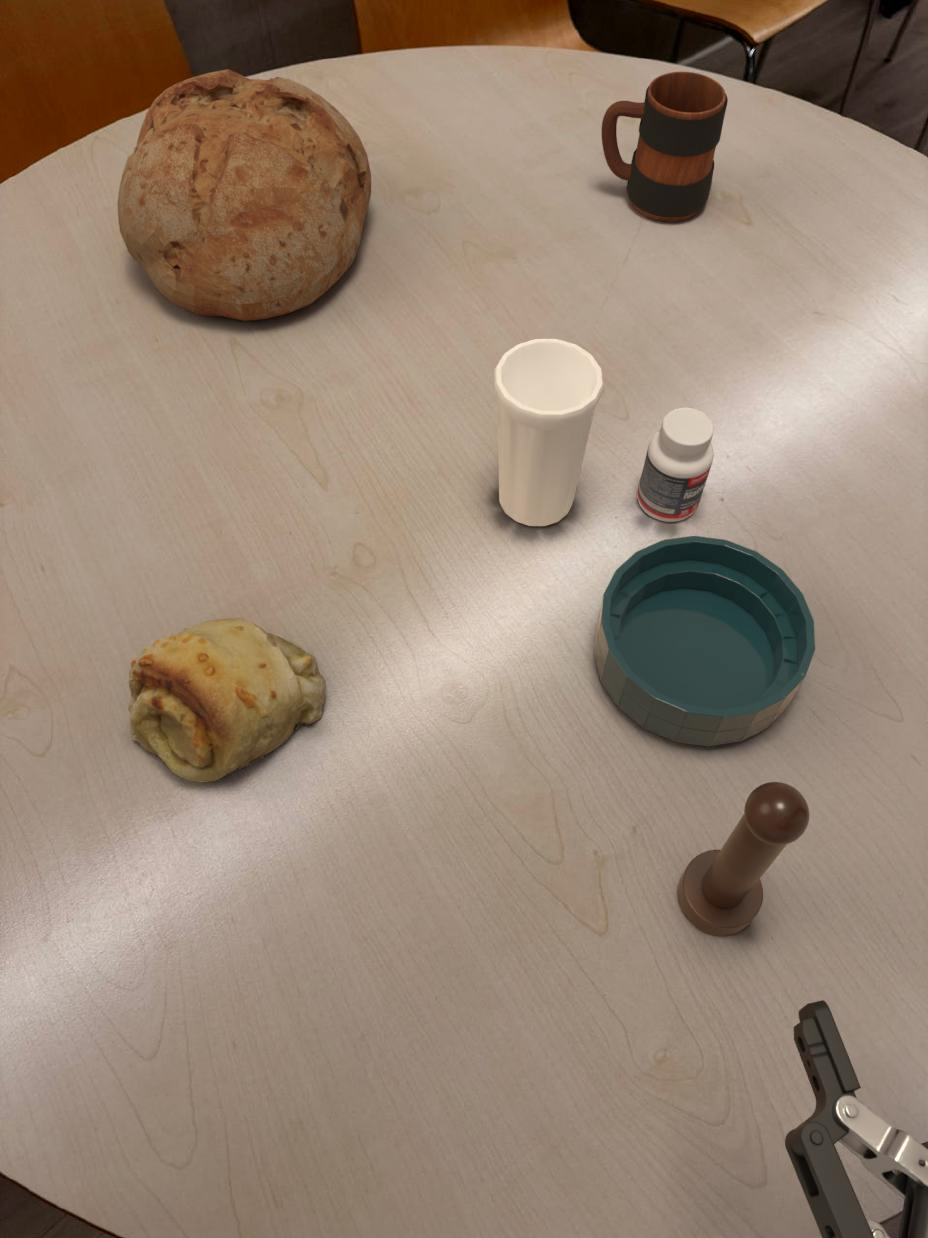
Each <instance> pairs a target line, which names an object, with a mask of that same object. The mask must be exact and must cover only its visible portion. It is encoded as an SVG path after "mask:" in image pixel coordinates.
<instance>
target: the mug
mask: <svg viewBox="0 0 928 1238" xmlns="http://www.w3.org/2000/svg"><path fill="white" fill-rule="evenodd" d="M728 100H729V99H728V95H727V93H726V91H725V89H724V87H723V86H722V85H721V84H720V82H718V81H716V80H715V79H713V78H712V77H709V76H707V75H705V74H702V73H697V72H691V71H672V72H667V73H664V74H661V75H659V76H657V77H655V78H654V79H653V80H652V81H651V82H650V83H649V85H648V86H647V87H646V90H645V96H644V102H636V101H631V100H618V101H615V102H614V103H612V104H611V105H610V106H609V107H608V108H606V111H605V113H604V115H603V117H602V122H601V145H602V150H603V156H604V159H605V161H606V164H607V166H608V169H609V170H610V171H611V173H612V174H613V175H615V176H616V177H617V178H619V179H621V180H623V181H626V182H627V184H626V194H627V197H628V199H629V202H630V203H631V205H632V206H633V208H634V209H635V211H637V212H638V213H640V214H641V215H643V216H644V217H647V218H649V219H651V220H655V221H657V222H658V221H659V222H665V223H667V222H668V223H669V222H670V223H672V222H673V223H675V222H681V221H684V220H685V221H686V220H687V219H690V218H692V217H694V216H695V215H696V214H698V213H699V211H701V210H702V209H703V208H704V207H705V206H706V204H707V203H708V200H709V196H710V193H711V189H712V183H713V177H714V170H715V159H714V158H715V153H716V148H717V146H718V145H719V143H720V140H721V136H722V132H723V131H722V130H723V125H724V120H725V117H726V116H725V115H726V112H727V107H728ZM619 117H626V118H631V119H640V121H639V126H638V134H639V135H638V139H637V145H636V148H635V150H634V151H633V154H632V158H631V163H626V162H625V161H624V160H623V158H622V156H621V153H620V149H619V145H618V136H617V125H618V119H619Z"/></svg>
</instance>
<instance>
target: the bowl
mask: <svg viewBox="0 0 928 1238" xmlns="http://www.w3.org/2000/svg"><path fill="white" fill-rule="evenodd" d="M814 621H815V620H814V617H813V615H812V613H811V610H810V608H809V606H808V603H807V600H806V598H805V596H804V594H803V593H802V591H801V590H800V588H799V587H798V586H797V585H796V584H795V582H793V581H792V579H791V578H790V577H789V576H788V574H787V573H786V572H785V570H784V569H782V568H781V567H780V566H778V565H777V564H775V563H774V562H772V561H771V560H770V559H768V558H767V557H765V556H764V555H763V554H761V553H760V552H758V551H756V550H754V549H751V548H748V547H746V546H744V545H741V544H738V543H736V542H733V541H731V540H728V539H723V538H714V537H709V536H708V537H707V536H698V535H690V536H682V537H675V538H666V539H663V540H660V541H658V542H656V543H653V544H651V545H648V546H646V547H644V548H641V549H639V550H637V551H635V552H634V553H633V554H632V555H631V556H630V557H628V559H626V560H625V561H624V562H623V563H622V564H621V565H620V566H619V567H617V569H615V570H614V573H613V575H612V577H611V579H610V581H609V583H608V585H607V586H606V589H605V590H604V593H603V595H602V598H601V603H600V608H599V613H598V618H597V622H596V627H595V633H594V635H595V637H594V646H593V658H594V661H595V665H596V669H597V672H598V677H599V680H600V682H601V684H602V685H603V687H604V688H605V690H606V692H607V693H608V694H609V696H610V698H611V699H612V701H613V702H614V704H615V705H616V707H617V708H619V709H620V710H621V711H622V712H623V713H625V714H626V715H627V716H628V717H629V718H630V719H632V720H633V721H634V722H636V723H637V725H639V726H641V728H644V730H647V731H649V732H651V733H653V734H656V735H658V736H660V737H663V738H664V739H665V738H666V739H667V740H670V741H672V742H675V743H680V744H687V745H696V746H702V747H713V746H717V745H726V744H731V743H732V744H733V743H740V742H742V741H744V740H746V739H748V738H751V737H752V736H754V735H756V734H758V733H760V732H763V731H765V730H766V729H768V728H770V726H772V724H773V723H774V722H775V721H776V720H777V719H778V718H779V716H780V715H781V714H782V713H783V712H784V711H785V710H786V709H787V708H788V706H789V705H790V703H791V701H792V699H793V698H794V696H795V694H796V693H797V691H798V690H799V688H800V686H801V685H802V683H803V681H804V680H805V678H806V676H807V673H808V670H809V668H810V665H811V663H812V660H813V657H814V654H815V652H816V639H815V622H814Z"/></svg>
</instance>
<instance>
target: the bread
mask: <svg viewBox="0 0 928 1238" xmlns="http://www.w3.org/2000/svg"><path fill="white" fill-rule="evenodd" d="M122 171H123V172H122V174H121V178H120V184H119V188H118V190H119V191H118V195H117V220H118V227H119V232H120V236H121V237H122V241H123V242H124V245H125V247H126V249H127V252H128V253H129V254H130V256H131V258H133V260H134V261H135V262H136V263H137V264H138V265H139V266H140V267H141V268H142V270H143V271H144V272H145V273H146V275H147V276H148V278H149V280H150V281H151V282H152V283H153V285H154V287H155V288H156V289H157V291H158V292H159V293H161V294H162V295H163V296H164V297H166V298H167V299H168V300H169V301H171V302H172V303H173V304H175V305H176V306H179V307H180V308H183V309H185V310H188V311H190V312H192V313H194V314H196V315H198V316H206V317H207V316H209V317H225V318H230V319H234V320H238V321H243V322H249V321H258V320H266V319H271V318H275V317H279V316H282V315H287V314H290V313H292V312H295V311H298V310H300V309H303V308H305V307H307V306H310V305H311V304H312V303H314V302H315V301H316V300H317V299H319V298H320V297H322V295H324V294H326V292H327V291H328V290H330V288H332V287H333V286H334V285H335V284H336V283H337V282H338V281H339V280H340V278H341V277H342V276H343V275H344V274H345V273H346V271H347V270H348V269H349V268H350V267H351V266H352V265H353V262H354V260H355V258H356V256H357V254H358V251H359V249H360V247H361V246H360V245H361V239H362V234H363V228H364V222H365V218H366V215H367V212H368V209H369V205H370V202H371V201H370V200H371V197H372V172H371V167H370V161H369V157H368V154H367V151H366V149H365V147H364V144H363V142H362V140H361V138H360V135H359V134H358V132H357V131H356V129H355V128H354V127H353V126H352V124H351V123H350V122H349V121H348V119H347V118H346V117H345V116H344V115H343V114H342V113H341V112H340V111H339V110H338V109H337V108H336V107H335V106H334V105H333V104H331V103H330V102H329V101H328V100H326V99H325V98H324V97H323V96H322V95H321V94H319V93H317V92H315V91H313V89H310V88H309V87H307V86H306V85H303V84H301V83H299V82H296V81H295V80H292V79H290V78H286V77H280V76H275V77H270V78H269V79H259V78H257V79H256V78H248V77H247V76H244V75H242V74H240V73H238V72H236V71H234V70H231V69H227V68H226V69H221V70H216V71H210V72H207V73H203V74H199V75H197V76H193V77H191V78H187V79H185V80H182V81H179V82H176V83H175V84H173V85H171V86H170V87H167V88H166V89H165V90H164V91H163V92H161V93H160V94H159V95H158V96H157V97H156V98H155V99H154V100H153V102H152V103H151V105H150V106H149V108H148V110H147V112H146V114H145V117H144V119H143V121H142V124H141V127H140V130H139V134H138V137H137V141H136V146H135V147H134V148H133V152H132V153H131V154H130V155H129V156H127V159H126V161H125V165H124V168H123V170H122Z"/></svg>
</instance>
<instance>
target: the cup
mask: <svg viewBox="0 0 928 1238" xmlns="http://www.w3.org/2000/svg"><path fill="white" fill-rule="evenodd" d="M493 380H494V381H493V383H494V385H493V386H494V391H495V397H496V400H497V429H498V430H497V433H498V434H497V435H498V436H497V437H498V440H497V442H498V443H497V444H498V501H499V504H500V506H501V508H502V510H503V512H504V513H505V514H506V515H507V516H508V517H510V518H511V519H512V520H513V521H515V522H517V523H520V524H522V525H526V526H528V527H546V526H549V525H552V524H556V523H559V522H560V521H561V520H562V519H563V518H565V517H566V516H567V515H568V514H569V512H570V510H571V509H572V507H573V504H574V500H575V495H576V491H577V489H578V488H577V487H578V483H579V478H580V474H581V471H582V466H583V462H584V457H585V454H586V449H587V445H588V441H589V437H590V432H591V428H592V424H593V421H594V420H593V419H594V415H595V411H596V407H597V405H598V403H599V401H600V399H601V396H602V393H603V391H604V388H605V384H604V372H603V369H602V368H601V366H600V365H599V364H598V362H597V360H596V358H595V357H594V356H593V355H592V354H591V353H590V352H588V351H587V350H585V349H584V348H583V347H580V346H579V345H578V344H576V343H573V342H569V341H565V340H562V339H559V338H535V339H531V340H528V341H524V342H521V343H518V344H516V345H514V346H513V347H512V348H510V349H509V350H508V351H506V352H505V353H503V354H502V355H501V357H500V359H499V361H498V363H497V364H496V366H495V368H494V370H493Z"/></svg>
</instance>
